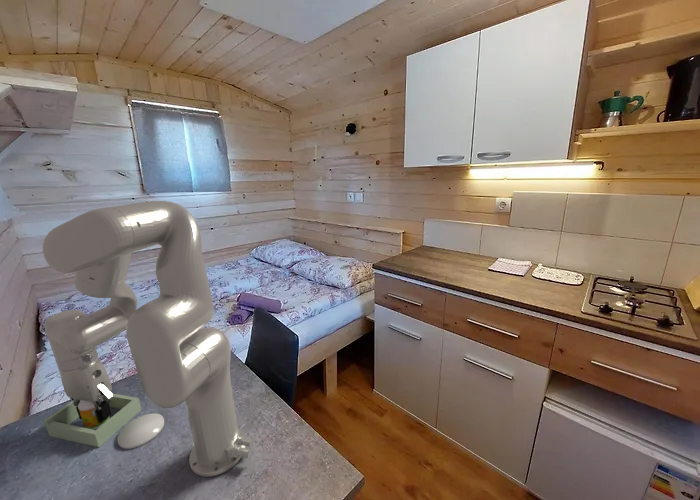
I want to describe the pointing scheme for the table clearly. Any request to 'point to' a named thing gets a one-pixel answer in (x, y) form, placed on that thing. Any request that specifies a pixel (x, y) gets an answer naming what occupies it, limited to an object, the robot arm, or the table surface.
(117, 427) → the frame
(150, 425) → the saucer
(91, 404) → the supplement bottle
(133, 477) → the table surface
